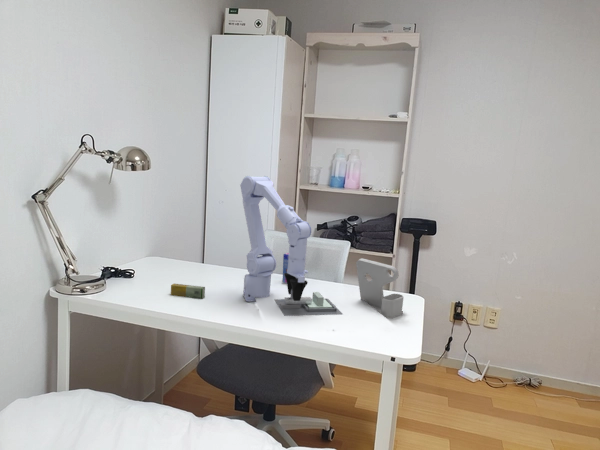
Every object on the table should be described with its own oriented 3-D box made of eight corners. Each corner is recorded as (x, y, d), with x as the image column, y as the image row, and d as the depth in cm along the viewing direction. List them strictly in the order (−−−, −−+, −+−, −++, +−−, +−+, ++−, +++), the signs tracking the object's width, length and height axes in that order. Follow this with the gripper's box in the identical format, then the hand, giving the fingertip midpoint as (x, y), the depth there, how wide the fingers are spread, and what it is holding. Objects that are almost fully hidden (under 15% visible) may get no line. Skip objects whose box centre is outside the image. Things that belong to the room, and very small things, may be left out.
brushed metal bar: (285, 303, 154) (286, 290, 154) (284, 301, 156) (285, 288, 156) (311, 303, 157) (312, 290, 156) (309, 301, 159) (310, 288, 158)
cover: (309, 310, 154) (310, 298, 153) (303, 302, 161) (303, 291, 161) (332, 310, 156) (333, 298, 155) (324, 302, 164) (325, 291, 163)
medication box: (205, 297, 165) (205, 286, 164) (202, 299, 162) (203, 288, 161) (173, 293, 166) (173, 282, 166) (169, 295, 164) (170, 284, 163)
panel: (284, 320, 148) (284, 312, 147) (273, 303, 163) (274, 296, 162) (342, 318, 153) (343, 310, 153) (327, 302, 168) (328, 295, 168)
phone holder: (405, 313, 163) (410, 264, 160) (389, 319, 156) (395, 267, 153) (364, 300, 175) (369, 253, 172) (348, 305, 167) (353, 256, 164)
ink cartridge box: (294, 277, 198) (296, 244, 196) (305, 280, 195) (307, 246, 193) (281, 282, 190) (283, 247, 187) (292, 285, 187) (294, 250, 184)
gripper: (314, 263, 148) (311, 304, 150) (302, 253, 162) (299, 290, 164) (293, 263, 146) (290, 304, 148) (283, 252, 160) (280, 290, 162)
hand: (294, 297), depth 156 cm, fingers open, 6 cm apart
